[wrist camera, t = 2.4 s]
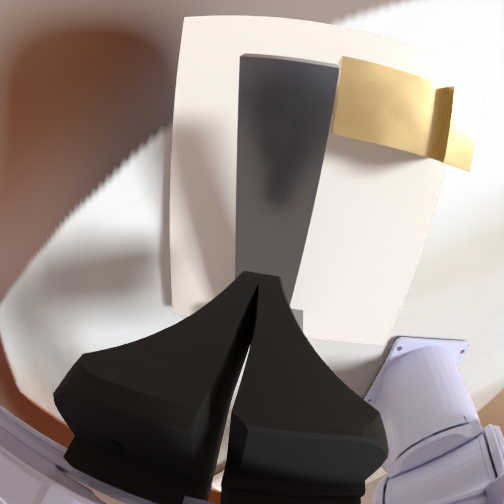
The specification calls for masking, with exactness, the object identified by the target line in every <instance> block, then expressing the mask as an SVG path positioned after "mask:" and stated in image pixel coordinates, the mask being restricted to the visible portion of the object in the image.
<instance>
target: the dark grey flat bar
mask: <svg viewBox="0 0 504 504" xmlns="http://www.w3.org/2000/svg"><path fill="white" fill-rule="evenodd" d="M339 69H340V68H339V67H338V65H337V64H332V63H326V62H321V61H314V60H308V59H301V58H293V57H285V56H275V55H264V54H249V53H244V54H243V55H241V56H240V64H239V92H238V126H237V168H236V229H235V279H236V278H237V277H238V276H239V275H240V273H242V272H243V271H249V272H255V273H261V274H267V275H273V276H279V277H280V278H281V280H282V285H283V289H284V292H285V295H286V298H287V300H288V303H289V305H290V303H291V299H292V295H293V292H294V288H295V284H296V280H297V276H298V272H299V268H300V264H301V260H302V255H303V251H304V247H305V243H306V239H307V234H308V230H309V226H310V221H311V217H312V212H313V208H314V203H315V199H316V194H317V189H318V184H319V180H320V175H321V170H322V165H323V160H324V155H325V150H326V144H327V139H328V134H329V128H330V123H331V117H332V112H333V106H334V100H335V94H336V88H337V82H338V75H339Z"/></svg>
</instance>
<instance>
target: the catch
mask: <svg viewBox="0 0 504 504" xmlns="http://www.w3.org/2000/svg"><path fill="white" fill-rule="evenodd" d="M338 67H339V68H340V69H339V75H338V82H337V88H336V94H335V100H334V107H333V114H332V122H331V129H330V133H331V134H333V135H339V136H344V137H349V138H353V139H358V140H363V141H367V142H371V143H376V144H380V145H384V146H388V147H392V148H396V149H400V150H403V151H407V152H411V153H414V154H418V155H421V156H424V157H428V158H431V159H434V160H437V161H440V162H442V163H445V164H448V165H451V166H454V167H457V168H460V169H463V170H466V171H470V166H471V161H472V156H473V150H474V144H475V138H476V132H477V125H478V117H479V108H480V98H481V97H478V96H476V95H474V94H472V93H470V92H468V91H466V90H463V89H461V88H459V87H456V86H449V87H446V86H444V85H441V84H438V83H436V82H433V81H430V80H428V79H425V78H422V77H419V76H416V75H413V74H410V73H407V72H404V71H401V70H397V69H394V68H391V67H387V66H384V65H380V64H376V63H372V62H368V61H364V60H360V59H356V58H351V57H346V56H342V57H341V59H340V60H339V64H338Z"/></svg>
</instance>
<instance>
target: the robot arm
mask: <svg viewBox="0 0 504 504" xmlns="http://www.w3.org/2000/svg"><path fill="white" fill-rule="evenodd" d="M249 346H250V350H249V354H248V358H247V362H246V365H245V369H244V372H243V376H242V380H241V383H240V386H239V390H238V393H237V396H236V399H235V403H234V406H233V409H232V413H231V423H230V432H229V442H228V452H227V461H226V465H225V469H224V473H223V477H222V481H221V500H220V504H361V499H360V498H361V497H362V496H363V495H364V494H365V480H366V479H367V478H368V477H369V476H371V475H372V474H373V473H374V472H375V471H376V470H377V469H378V468H380V467H382V468H383V469H384V470H385V471H386V472H388V475H387V476H385V477H383V478H382V479H381V480H380V482H379V484H378V486H377V489H376V491H375V493H374V497H373V504H504V438H503V435H502V432H501V430H500V427H499V426H496V425H495V426H493V425H492V424H489V425H488V426H486V427H485V430H484V428H483V426H482V425H481V423H480V420H479V418H478V415H477V412H476V409H475V407H474V404H473V402H472V399H471V396H470V394H469V392H468V389H467V387H466V384H465V382H464V380H463V377H462V375H461V373H460V370H459V368H458V366H457V365H458V363H459V362H460V360H461V359H462V357H463V355H464V354H465V352H466V351H467V349H468V347H469V343H468V341H459V340H439V339H424V338H410V337H400V338H398V339H396V341H395V343H394V345H393V347H392V349H391V351H390V353H389V355H388V357H387V359H386V360H385V362H384V364H383V366H382V368H381V370H380V372H379V373H378V375H377V377H376V379H375V381H374V382H373V384H372V386H371V388H370V389H369V391H368V393H367V394H366V396H365V398H364V399H362V398H361V397H359V396H358V395H357V394H356V393H354V392H353V391H352V390H351V389H350V388H349V387H348V386H347V385H346V384H344V383H343V382H342V381H341V380H340V379H339V378H338V377H337V376H336V375H335V374H334V373H333V371H332V370H331V369H330V368H329V367H328V366H327V365H326V364H325V362H324V361H323V360H322V359H321V358H320V356H319V355H318V354H317V352H316V351H315V350H314V348H313V347H312V345H311V344H310V343H309V341H308V340H307V338H306V336H305V335H304V333H303V331H302V330H301V328H300V326H299V324H298V322H297V320H296V318H295V316H294V314H293V312H292V310H291V308H290V305H289V303H288V300H287V298H286V295H285V292H284V289H283V285H282V280H281V278H280V277H279V276H273V275H267V274H261V273H255V272H249V271H243V272H242V273H240V275H239V276H238V277H237V278H236V279H235V280H234V281H233V282H232V283H231V284H230V285H229V286H227V287H226V288H225V289H224V290H223V291H222V292H221V293H219V294H218V295H217V296H216V297H215V298H214V299H212V300H211V301H210V302H208V303H207V304H206V305H204V306H203V307H202V308H200V309H199V310H198V311H196V312H195V313H193V314H192V315H190V316H188V317H187V318H185V319H183V320H182V321H180V322H178V323H176V324H175V325H173V326H170V327H168V328H166V329H164V330H162V331H159V332H157V333H155V334H153V335H150V336H148V337H145V338H142V339H140V340H137V341H134V342H131V343H128V344H124V345H121V346H117V347H113V348H109V349H105V350H100V351H95V352H91V353H85V354H83V355H82V356H81V357H80V358H79V359H78V360H77V362H76V363H75V364H74V365H73V366H72V368H71V369H70V371H69V372H68V373H67V375H66V376H65V378H64V379H63V380H62V382H61V383H60V385H59V386H58V387H57V389H56V390H55V392H54V393H53V396H54V402H55V405H56V407H57V409H58V411H59V413H60V414H61V416H62V417H63V419H64V420H65V422H66V423H67V425H68V426H69V428H70V429H71V430H72V432H73V433H74V435H75V437H74V439H73V440H72V442H71V444H70V446H69V447H68V449H67V448H65V447H63V446H61V445H59V444H58V443H56V442H54V441H52V440H51V439H49V438H47V437H46V436H44V435H42V434H41V433H39V432H38V431H36V430H35V429H33V428H32V427H30V426H29V425H27V424H26V423H24V422H23V421H21V420H20V419H18V418H17V417H15V416H14V415H12V414H11V413H10V412H8V411H7V410H6V409H5V408H3V407H2V406H1V405H0V500H1V501H2V502H3V503H4V504H106V503H104V502H103V501H102V500H100V499H99V498H98V497H96V496H95V495H94V493H93V492H92V491H91V490H90V489H88V488H87V487H85V486H83V485H81V484H80V483H78V482H77V481H79V482H81V483H83V484H85V485H87V486H89V487H91V488H93V489H95V490H97V491H99V492H101V493H103V494H106V495H108V496H110V497H112V498H115V499H117V500H119V501H122V502H124V503H127V504H218V503H213V502H209V501H208V499H209V494H210V490H211V486H212V481H213V477H214V472H215V468H216V464H217V459H218V455H219V450H220V446H221V442H222V437H223V433H224V429H225V424H226V420H227V416H228V412H229V407H230V403H231V400H232V396H233V393H234V390H235V387H236V384H237V381H238V378H239V375H240V373H241V370H242V367H243V364H244V361H245V358H246V355H247V352H248V349H249ZM397 347H399V348H397ZM67 475H68V476H67ZM69 476H70V477H72V478H73V479H72V478H70V477H69ZM74 479H75V480H77V481H75V480H74Z"/></svg>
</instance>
